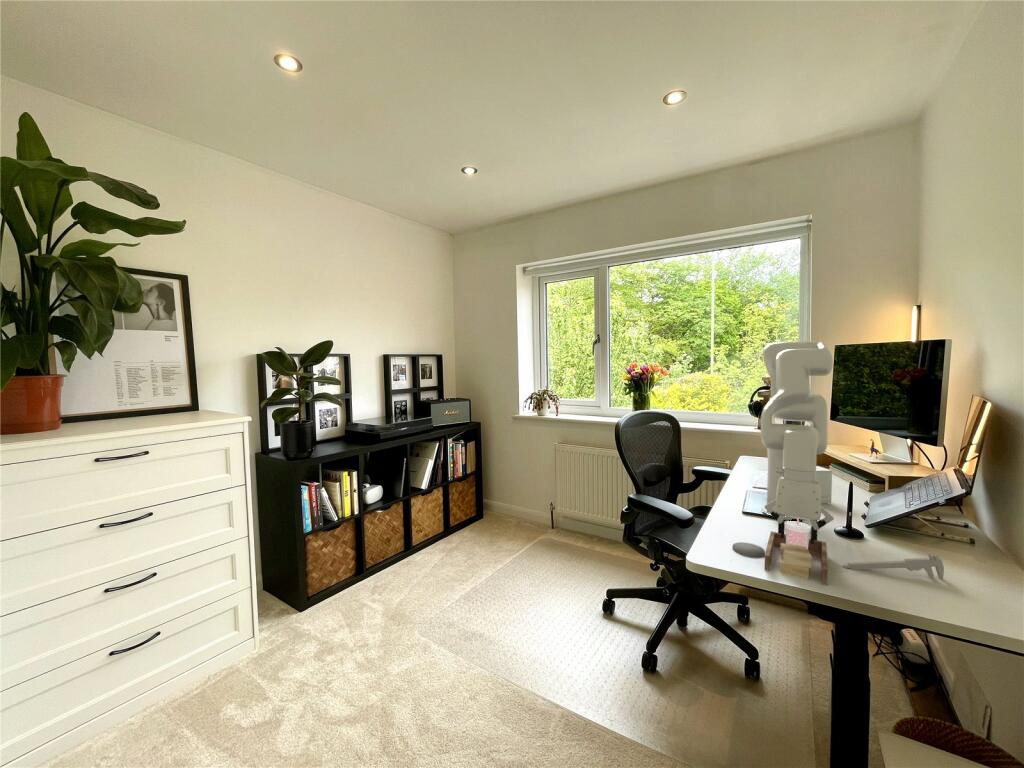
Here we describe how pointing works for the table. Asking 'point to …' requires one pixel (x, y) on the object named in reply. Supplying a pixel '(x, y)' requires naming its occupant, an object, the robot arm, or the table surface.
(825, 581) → the rack
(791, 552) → the offcut upper
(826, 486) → the supplement box
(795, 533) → the beverage cup
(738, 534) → the table surface
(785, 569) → the offcut lower
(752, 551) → the coaster
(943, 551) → the table surface
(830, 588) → the table surface
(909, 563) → the caliper
